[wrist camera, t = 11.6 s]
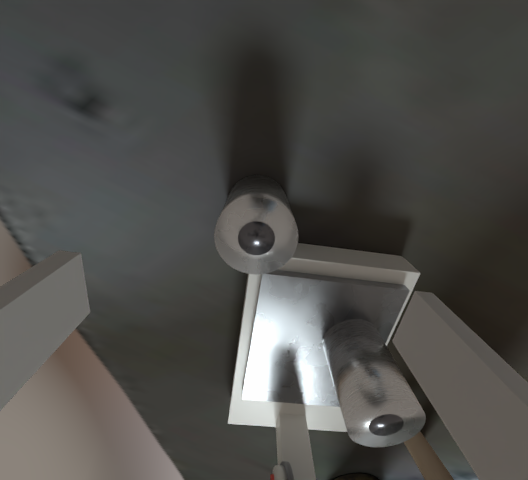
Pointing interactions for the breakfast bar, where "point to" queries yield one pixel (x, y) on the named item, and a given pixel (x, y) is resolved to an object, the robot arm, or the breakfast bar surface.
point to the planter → (426, 459)
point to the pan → (309, 332)
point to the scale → (303, 415)
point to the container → (357, 477)
